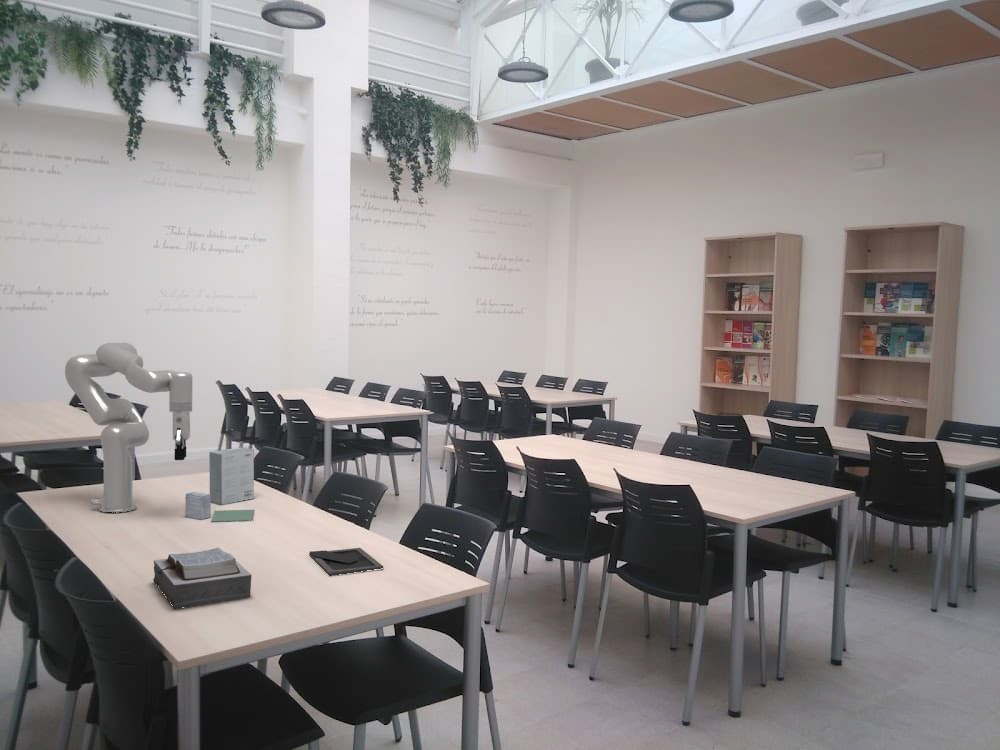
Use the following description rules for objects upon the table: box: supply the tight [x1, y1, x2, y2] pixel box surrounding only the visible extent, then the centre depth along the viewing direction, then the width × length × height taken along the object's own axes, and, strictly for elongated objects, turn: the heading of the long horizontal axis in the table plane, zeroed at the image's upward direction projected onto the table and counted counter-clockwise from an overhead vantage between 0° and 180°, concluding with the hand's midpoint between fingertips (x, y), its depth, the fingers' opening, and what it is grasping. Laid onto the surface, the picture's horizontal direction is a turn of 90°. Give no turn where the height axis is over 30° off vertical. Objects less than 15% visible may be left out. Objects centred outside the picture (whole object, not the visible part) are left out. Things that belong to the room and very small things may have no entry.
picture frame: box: [308, 547, 384, 577], centre depth 238 cm, size 16×2×21 cm
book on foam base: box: [152, 546, 252, 609], centre depth 211 cm, size 23×27×10 cm
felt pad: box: [210, 509, 255, 523], centre depth 289 cm, size 14×16×1 cm
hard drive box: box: [208, 447, 255, 506], centre depth 313 cm, size 16×8×20 cm, turn 144°
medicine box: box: [184, 491, 212, 521], centre depth 286 cm, size 8×4×9 cm, turn 65°
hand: (180, 458), depth 283 cm, fingers open, 4 cm apart
